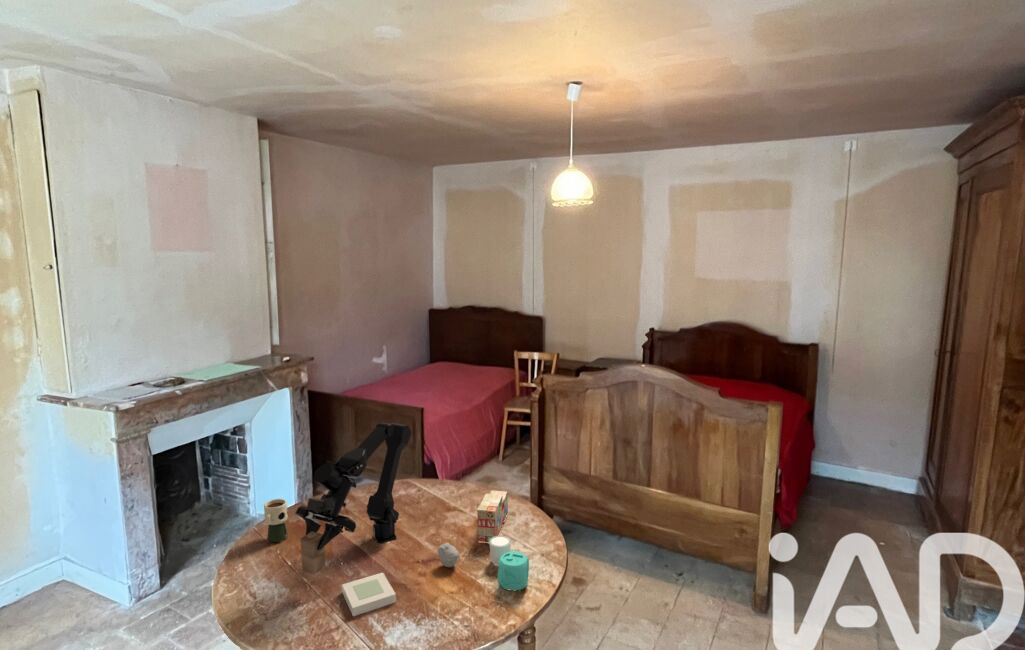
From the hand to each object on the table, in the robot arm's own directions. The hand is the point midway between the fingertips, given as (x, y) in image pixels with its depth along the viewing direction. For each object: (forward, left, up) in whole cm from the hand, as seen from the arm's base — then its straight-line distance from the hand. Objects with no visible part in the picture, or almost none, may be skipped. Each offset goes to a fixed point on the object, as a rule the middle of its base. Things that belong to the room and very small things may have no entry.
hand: (311, 548), depth 159 cm
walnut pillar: (0, 0, -7) cm, 7 cm away
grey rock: (-39, +8, -14) cm, 42 cm away
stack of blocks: (-62, -6, -14) cm, 64 cm away
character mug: (+5, -36, -14) cm, 39 cm away
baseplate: (-13, +11, -13) cm, 21 cm away
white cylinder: (-54, +14, -14) cm, 57 cm away
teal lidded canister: (-52, +26, -14) cm, 59 cm away
